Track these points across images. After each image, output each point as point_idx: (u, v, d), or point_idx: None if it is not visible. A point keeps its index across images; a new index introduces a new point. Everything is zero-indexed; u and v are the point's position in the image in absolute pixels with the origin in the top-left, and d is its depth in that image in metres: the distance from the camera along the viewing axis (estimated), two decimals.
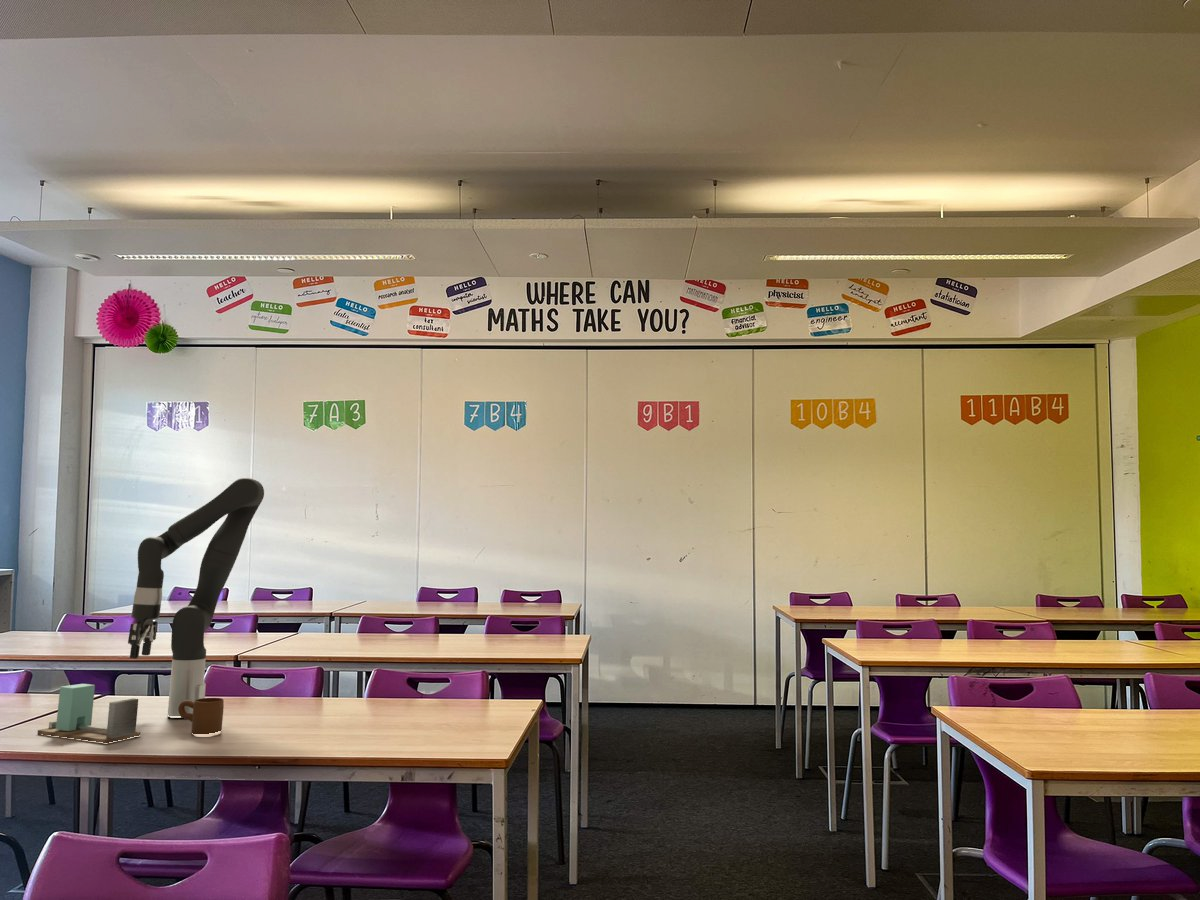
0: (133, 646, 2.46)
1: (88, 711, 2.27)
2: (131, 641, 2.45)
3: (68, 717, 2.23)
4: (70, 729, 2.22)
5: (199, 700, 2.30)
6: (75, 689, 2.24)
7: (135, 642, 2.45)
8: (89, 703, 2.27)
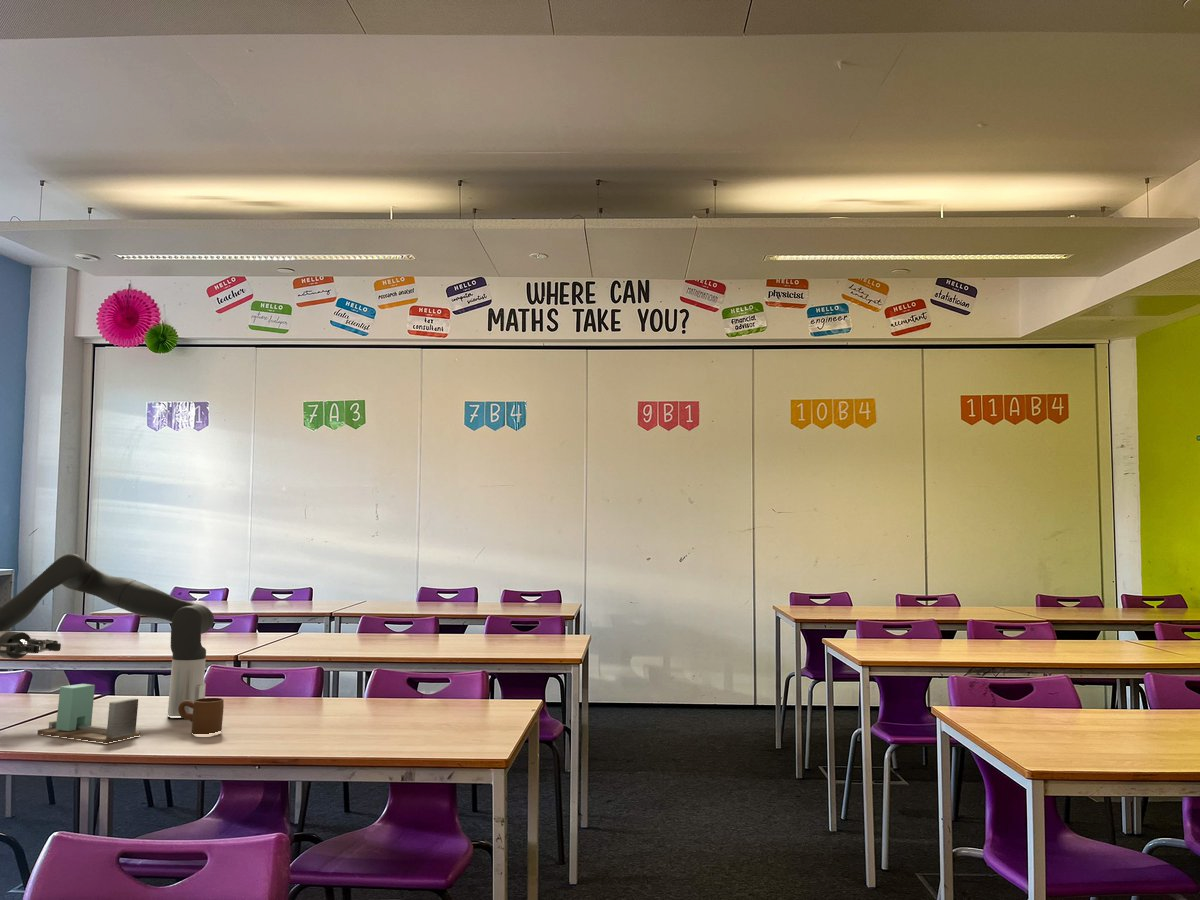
0: (25, 649, 2.30)
1: (88, 711, 2.27)
2: (15, 650, 2.29)
3: (68, 717, 2.23)
4: (70, 729, 2.22)
5: (199, 700, 2.30)
6: (75, 689, 2.24)
7: (16, 645, 2.29)
8: (89, 703, 2.27)
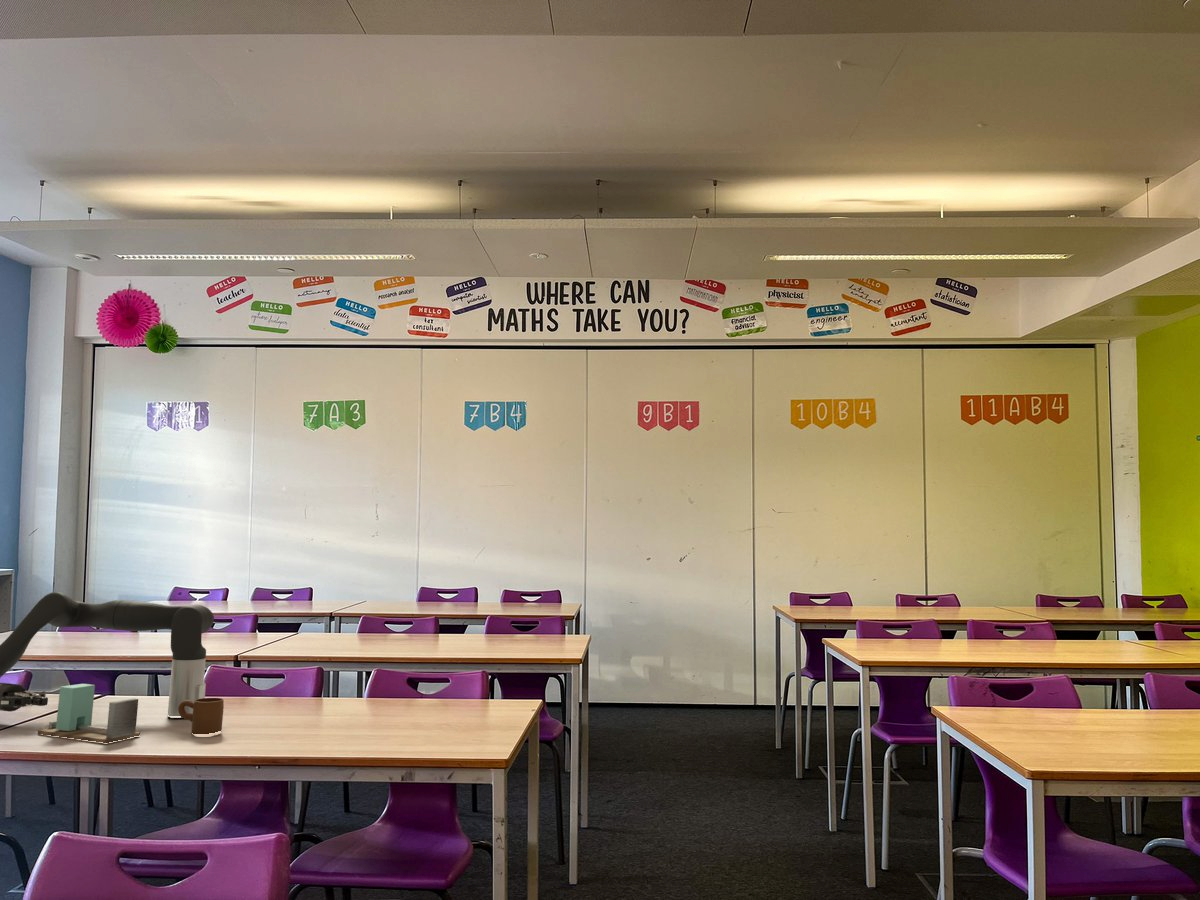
0: (31, 702, 2.31)
1: (88, 711, 2.27)
2: (21, 703, 2.30)
3: (68, 717, 2.23)
4: (70, 729, 2.22)
5: (199, 700, 2.30)
6: (75, 689, 2.24)
7: (23, 698, 2.30)
8: (89, 703, 2.27)
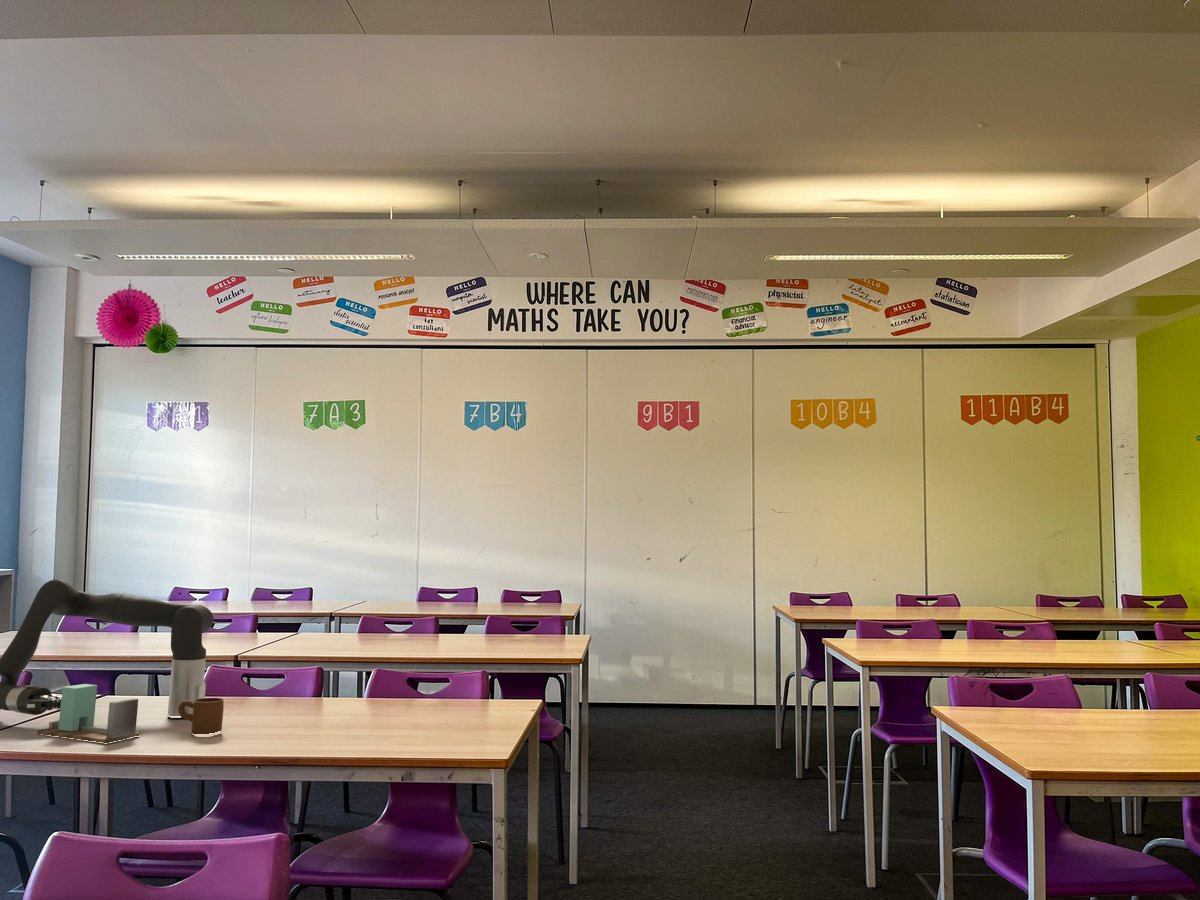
0: (57, 705, 2.27)
1: (90, 711, 2.27)
2: (47, 706, 2.26)
3: (70, 717, 2.22)
4: (72, 729, 2.22)
5: (199, 700, 2.30)
6: (77, 689, 2.24)
7: (50, 701, 2.26)
8: (91, 703, 2.27)
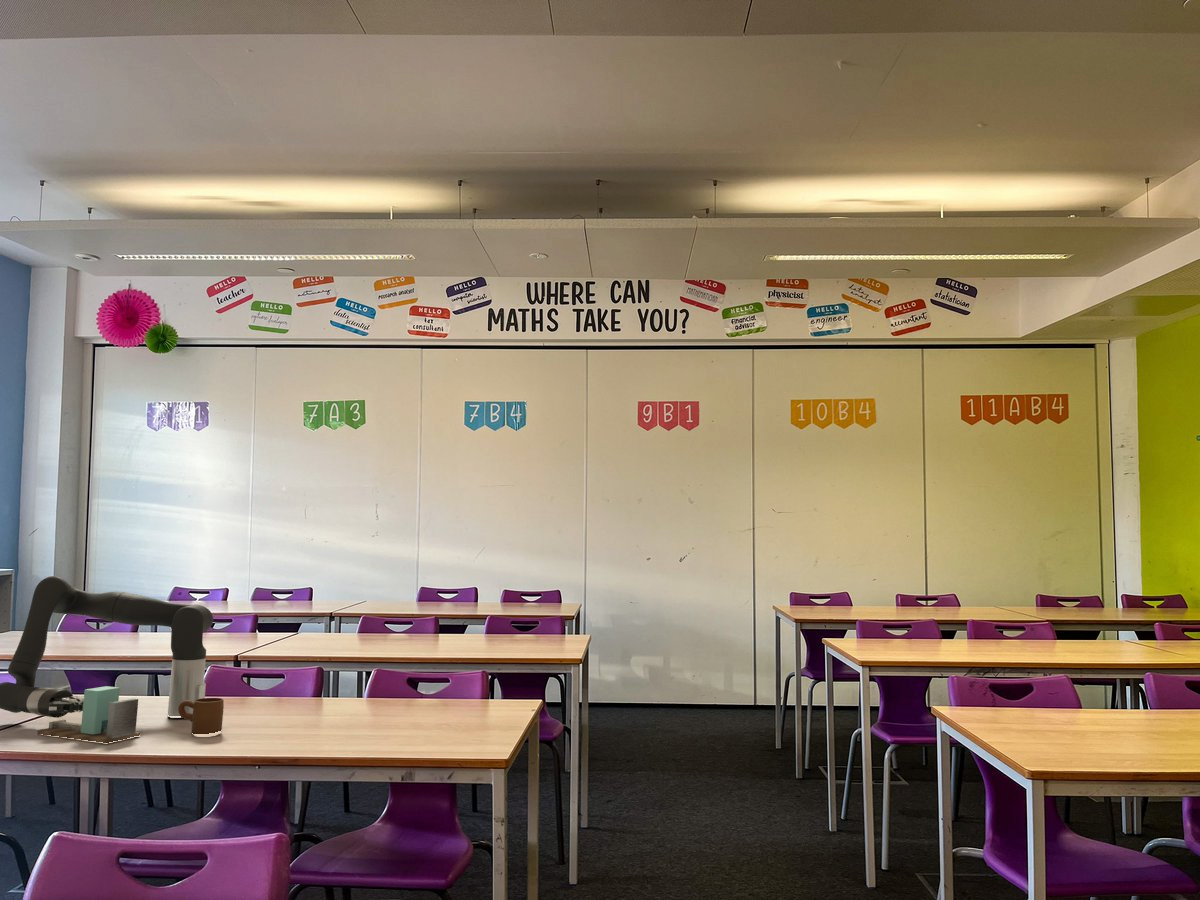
0: (79, 708, 2.24)
1: None
2: (69, 708, 2.23)
3: (93, 720, 2.19)
4: (95, 732, 2.19)
5: (199, 700, 2.30)
6: (100, 692, 2.20)
7: (72, 704, 2.23)
8: None
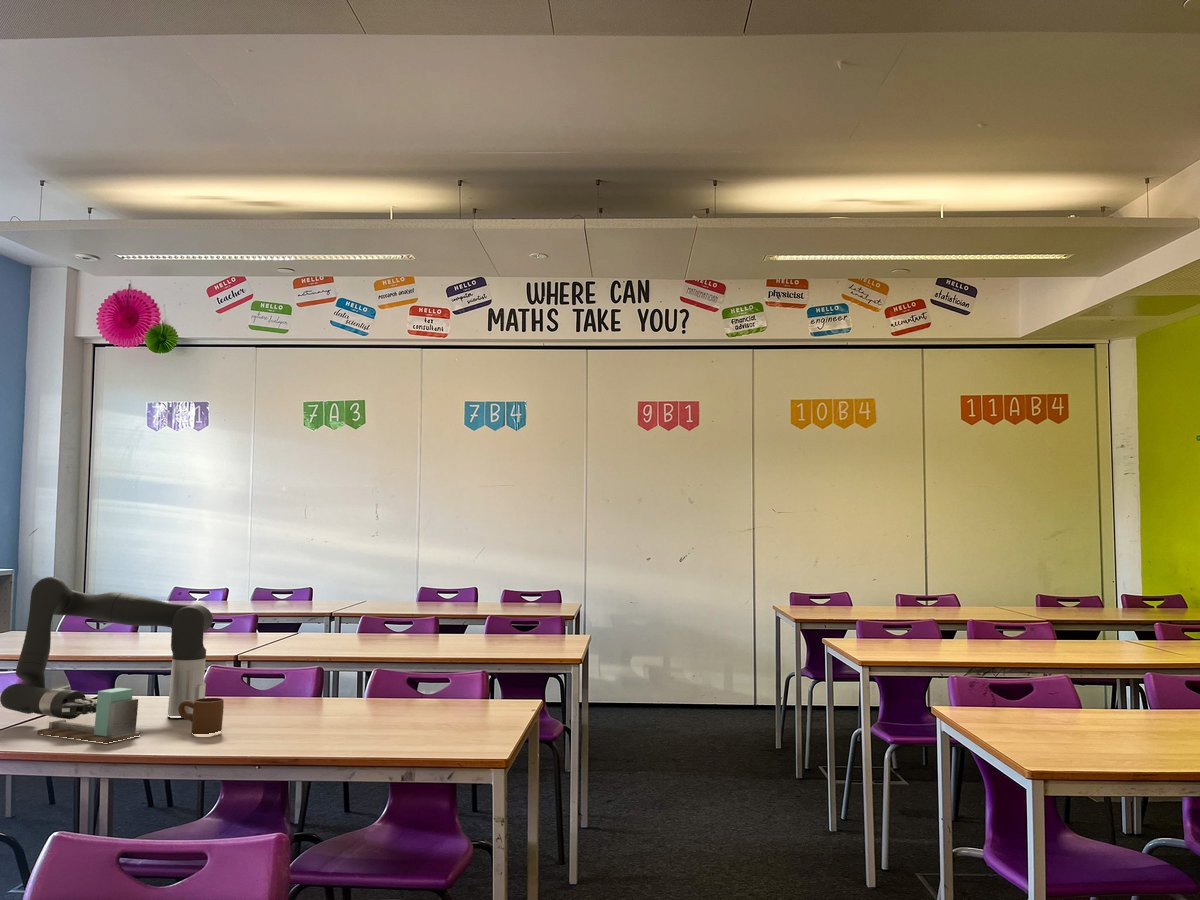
0: (92, 709, 2.22)
1: None
2: (82, 710, 2.21)
3: (106, 722, 2.17)
4: None
5: (199, 700, 2.30)
6: (113, 693, 2.19)
7: (85, 706, 2.21)
8: None
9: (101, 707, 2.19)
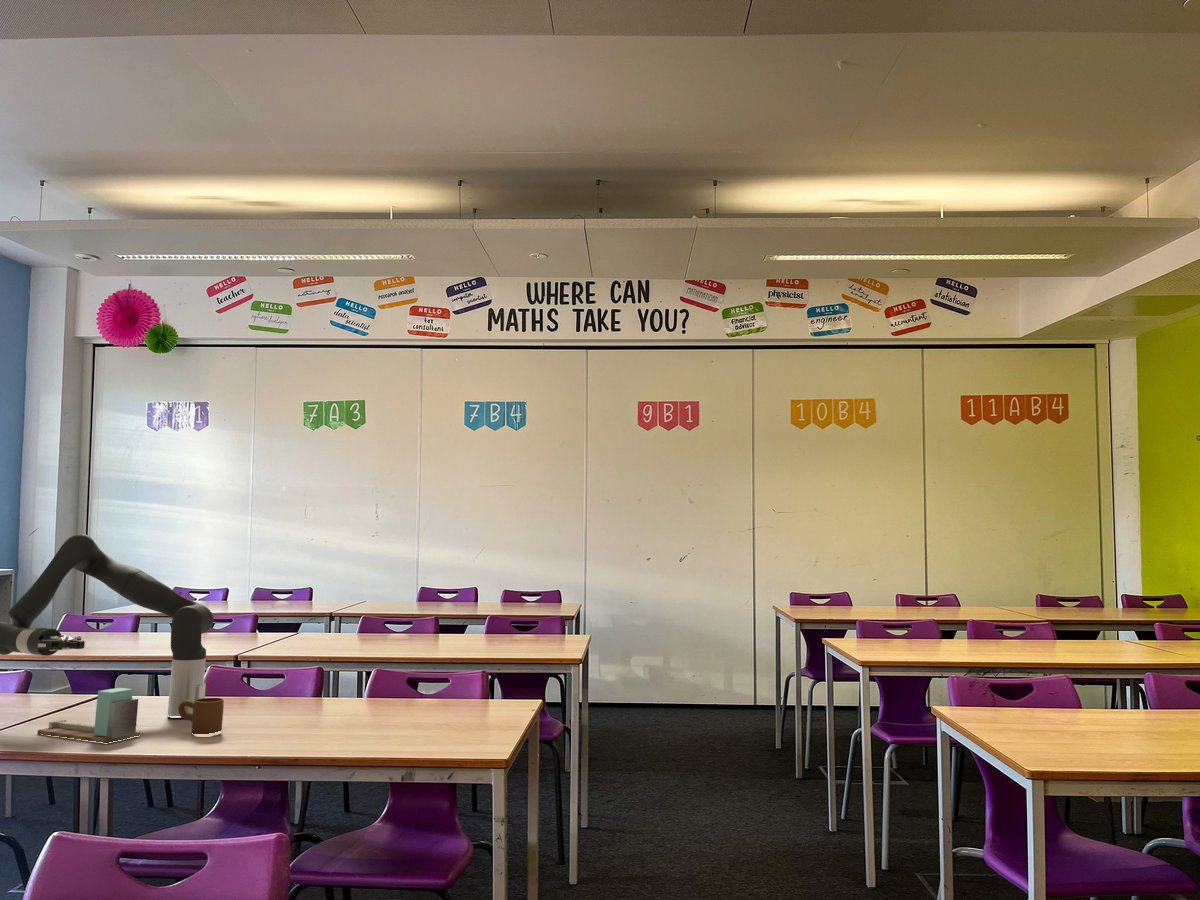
0: (68, 645, 2.28)
1: None
2: (58, 646, 2.27)
3: (106, 722, 2.17)
4: None
5: (199, 700, 2.30)
6: (113, 693, 2.19)
7: (60, 641, 2.27)
8: None
9: (101, 707, 2.19)
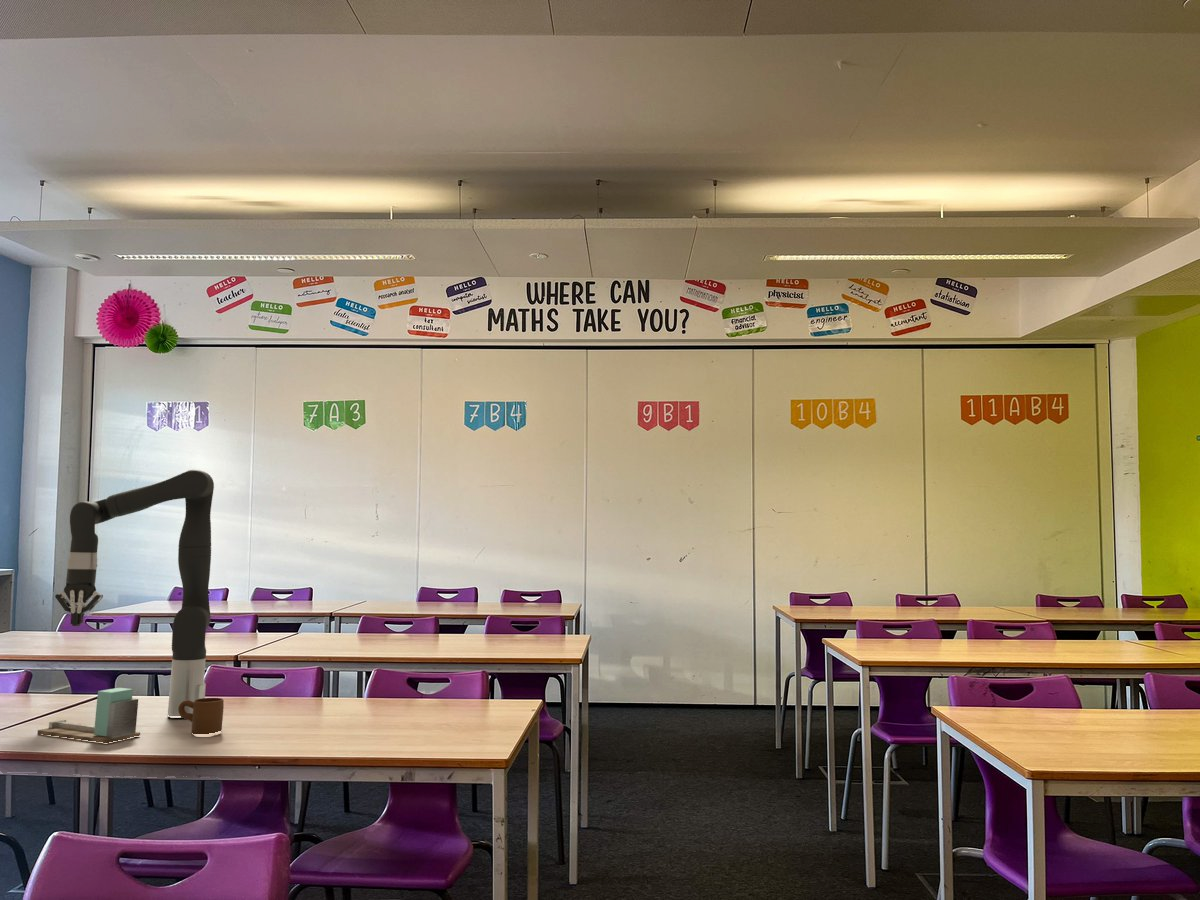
0: None
1: None
2: None
3: (106, 722, 2.17)
4: None
5: (199, 700, 2.30)
6: (113, 693, 2.19)
7: None
8: None
9: (101, 707, 2.19)
